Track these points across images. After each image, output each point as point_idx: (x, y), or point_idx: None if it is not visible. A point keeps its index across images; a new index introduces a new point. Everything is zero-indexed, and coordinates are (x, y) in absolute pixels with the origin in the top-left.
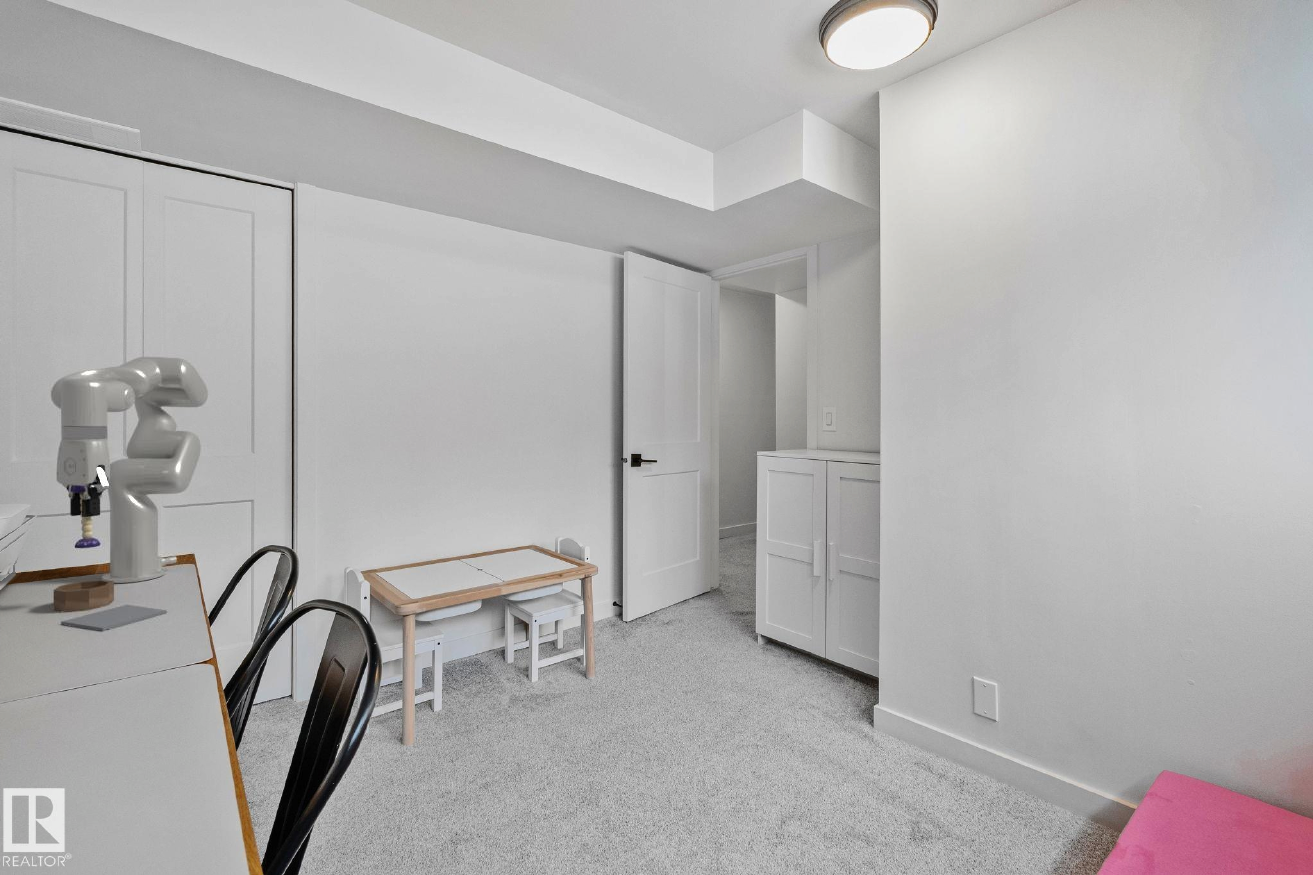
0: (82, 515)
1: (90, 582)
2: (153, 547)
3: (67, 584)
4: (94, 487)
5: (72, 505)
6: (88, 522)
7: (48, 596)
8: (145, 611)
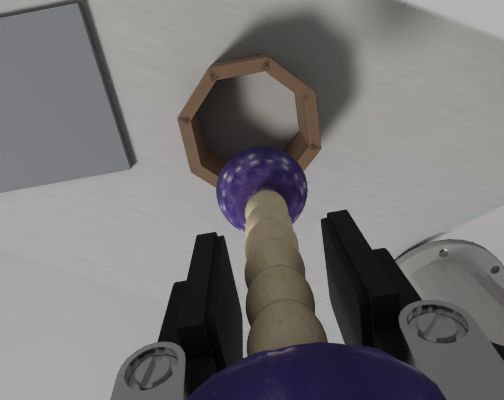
0: (207, 235)
1: None
2: None
3: (313, 112)
4: None
5: (349, 256)
6: (245, 246)
7: (440, 108)
8: (13, 164)
